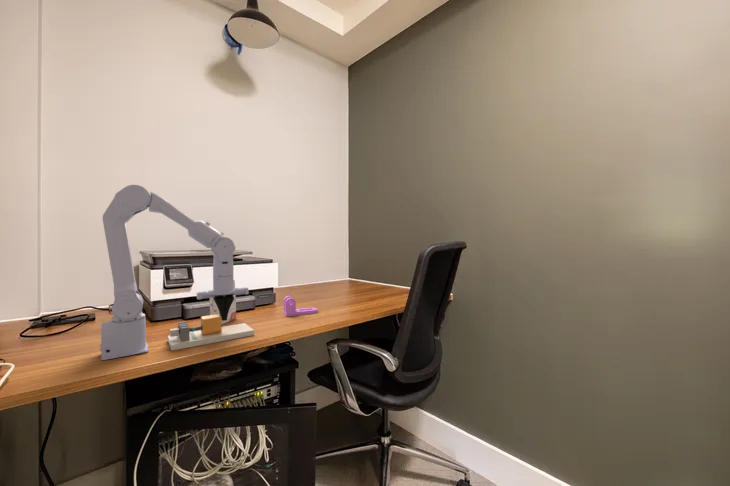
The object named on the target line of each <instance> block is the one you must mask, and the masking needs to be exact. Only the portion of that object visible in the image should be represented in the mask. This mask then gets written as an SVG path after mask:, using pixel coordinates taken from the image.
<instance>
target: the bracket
mask: <svg viewBox="0 0 730 486" xmlns="http://www.w3.org/2000/svg"><path fill="white" fill-rule="evenodd" d="M296 307H297V302H296V300H295V299H294V298H293V296H291V295H286V296H285V297H284V298H283V314H284V315H285V316H286V317H291V316H302V315H313V314H317V313H318V311H319V310H318V308H317V307H304V308H303V307H302V308H296Z"/></svg>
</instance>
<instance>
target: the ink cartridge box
mask: <svg viewBox="0 0 730 486" xmlns="http://www.w3.org/2000/svg"><path fill="white" fill-rule="evenodd" d="M233 283H234V288H236V282H235V279H233ZM230 294H231V293H230ZM220 295H223V294H220ZM213 296H214V295H213ZM233 297H234V301H233V302H232V304H231V306H230V309H229V312H228V316H227V320H224V321H222V325H224V324H226V323H228V322H231V321H233V320H236V319H237V301H236V299H237V298H236V297H237V295H233ZM216 314H219V315H220V312H219V309H218V307H217V305H216V303H215V301H214V299H213V298H209V315H216Z"/></svg>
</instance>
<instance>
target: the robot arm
mask: <svg viewBox="0 0 730 486" xmlns="http://www.w3.org/2000/svg"><path fill="white" fill-rule="evenodd" d="M147 209H148V211H149V212H150V213H158V214H162V215H163V216H165V217H167V218H168V219H170V220H172V221H174V222H175V223H177V224H178V225H180V226H182V227H183V228H185V229H186V230H187V233H188V236H189V237H190V238H192V239H193V240H194V241H196V242H197V243H199V244H200V245H202V246H204V247H206V249H207V248H208V249H210V250H211V251H212V253H213V261H212V268H213V269H212V275H213V276H212V283H213V284H212V289H211V290H204V291H197V292H196V299H197V300H202V299H203V300H204V299H210V298H213V299H214V301H215V303H216V305H217V307H218V309H219V312H220V316H221V317H222V321H224V320H227V316H228V312H229V309H230V306H231V304H232V302H233V301H234V297H233V295H236V296H241V295H249V294H250V293H249V290H250V289H249V287H235V288H234V283H233V280H234V259H233V258H234V255H233V254H234V252H235V251H236V246H235V243H234V241H233V240H232V238H230V237H225V236H224V235H225V234H224V232H222V231H221V232H219V231H218V230H217V229H215V228H214V227H212V226H211V223H210V222H209V221H204V220H194V219H193V218H192V217H190V216H188V215H187V214H186V213H184V212H182V210H180V209H179V208H177V207H176V206H174V205H173V204H172V203H170V202H169V201H168V200H166V199H165V198H163V197H161V196H160V195H158V194H156V193H154V192H152V191H150V192H149V191H148V189H146V188H145V187H144V186H142V185H138V184H130V185H127V186H125V187H123V188H122V189H120V190H119V191H117V192H116V193H115V195H114V197H113V199H112V200H111V202H110V204H109V205H108V206H107V208H106V210H105V211H104V213H103V214H102V224H103V228H104V235H105V242H106V245H107V246H106V247H107V252H108V253H107V254H108V259H109V265H110V270H111V275H112V277H111V278H112V281H113V296H114V301H113V304H112V306H111V313H112V315H113V316H112V317H111V320H108V321H102V322H101V325H100V327H101V328H100V332H101V333H100V340H101V341H100V342H101V344H100V345H99V346H100V347H99V350H100V352H101V359H100V360H101V361H106V360H111V359H116V358H118V359H119V358H122V357H127V356H134V355H138V354H139V355H140V354H145V353H148V352H149V345H148V342H147V335H146V333H147V330H146V328H147V327H146V326H147V325H146V322H147V321H146V314H145V313H143V308H144V307H143V306H144V302H145V301H144V298H143V295H142V294H141V293H140V292H139V290H138V284H137V281H136V275H135V269H134V264H133V257H132V253H131V247H130V246H131V244H130V240H129V234H128V233H129V232H128V228H127V223H128V222H129V221H130V220H131V219H132V218H133V217H135V216H136V215H137V214H140V213H142V212H144V211H146V210H147ZM230 293H231V294H230ZM220 294H223V295H220ZM213 295H214V296H213Z"/></svg>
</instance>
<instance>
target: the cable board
mask: <svg viewBox="0 0 730 486" xmlns="http://www.w3.org/2000/svg"><path fill="white" fill-rule="evenodd" d="M201 330H203V326H201V325H200V326H196V327H195V326H192V327H190V326H189V324H188V322H187V321H186V320H185V321H179V322H177V327H175V328H170V329H169V335H167V343H168V345H169V349H170V351H171V352H172V351H177V350H183V349H187V348H192V347H193V348H194V347H197V346H203V345H208V344H213V343H214V344H215V343H218V342H225V341H229V340H235V339H240V338H247V337H250V336H255V329H253V328H252V327H251V326H249V324H247V323H244V322H243V323H237V324H232V325H224V326H222V332H220V333H214V334H208V335H203V334H202V333H201Z"/></svg>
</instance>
